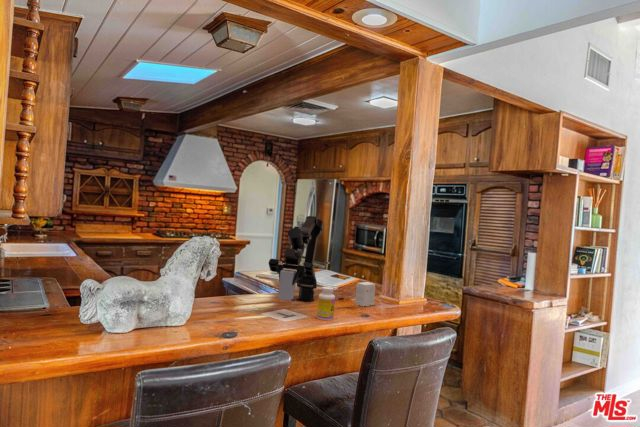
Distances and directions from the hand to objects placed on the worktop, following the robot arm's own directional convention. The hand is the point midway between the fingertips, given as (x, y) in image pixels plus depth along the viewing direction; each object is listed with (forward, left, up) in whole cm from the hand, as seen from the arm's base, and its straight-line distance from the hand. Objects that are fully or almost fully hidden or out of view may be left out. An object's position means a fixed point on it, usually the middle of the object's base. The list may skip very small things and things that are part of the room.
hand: (286, 283), depth 171 cm
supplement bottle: (+12, +12, -14) cm, 22 cm away
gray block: (-1, +1, -6) cm, 6 cm away
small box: (+7, +50, -14) cm, 52 cm away
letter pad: (-1, +1, -13) cm, 14 cm away
